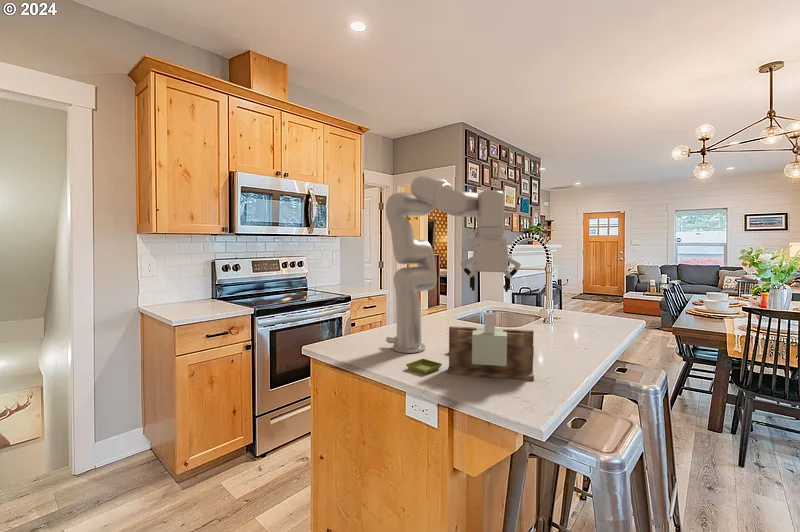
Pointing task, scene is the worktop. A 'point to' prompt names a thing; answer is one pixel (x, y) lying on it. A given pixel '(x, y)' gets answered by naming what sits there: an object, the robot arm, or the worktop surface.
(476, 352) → the pale green stepped block
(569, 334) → the worktop surface
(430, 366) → the olive green square tray
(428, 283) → the robot arm
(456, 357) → the wall board
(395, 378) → the worktop surface
